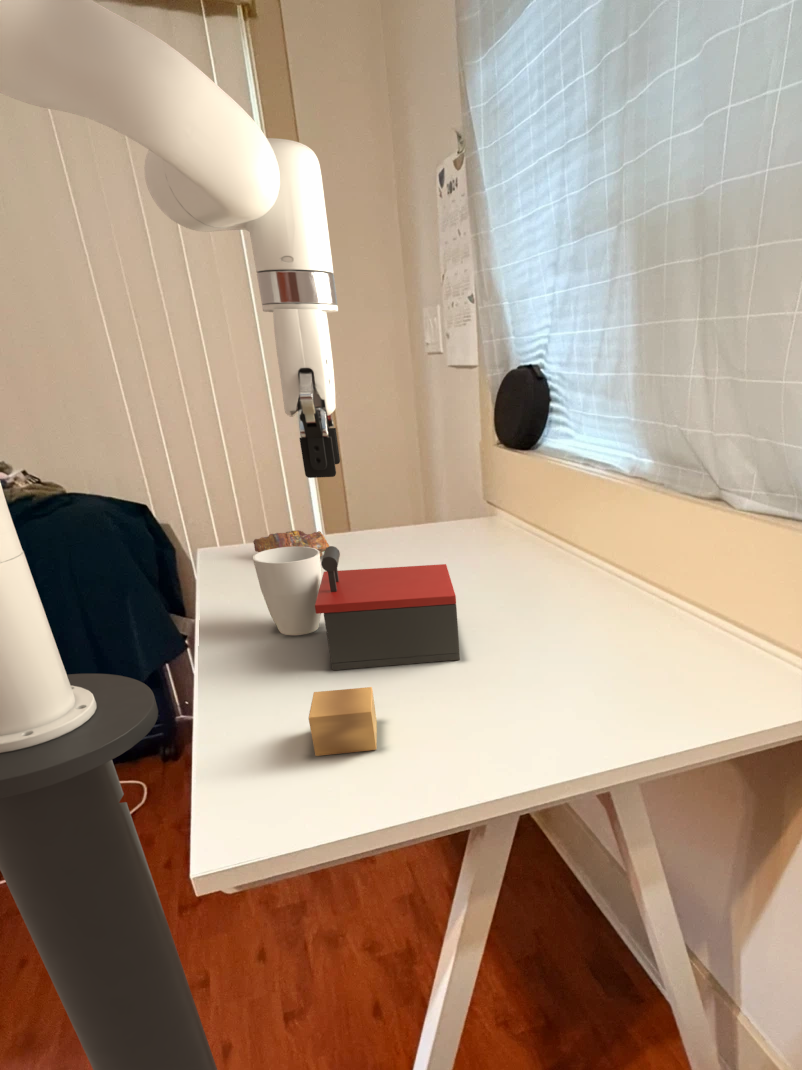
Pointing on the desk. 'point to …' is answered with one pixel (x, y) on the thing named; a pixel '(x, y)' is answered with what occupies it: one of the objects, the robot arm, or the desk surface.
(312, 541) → the mineral specimen
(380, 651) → the dark tray bin
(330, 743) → the wooden block
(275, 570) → the cup
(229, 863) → the desk surface
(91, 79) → the robot arm
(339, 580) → the lid
